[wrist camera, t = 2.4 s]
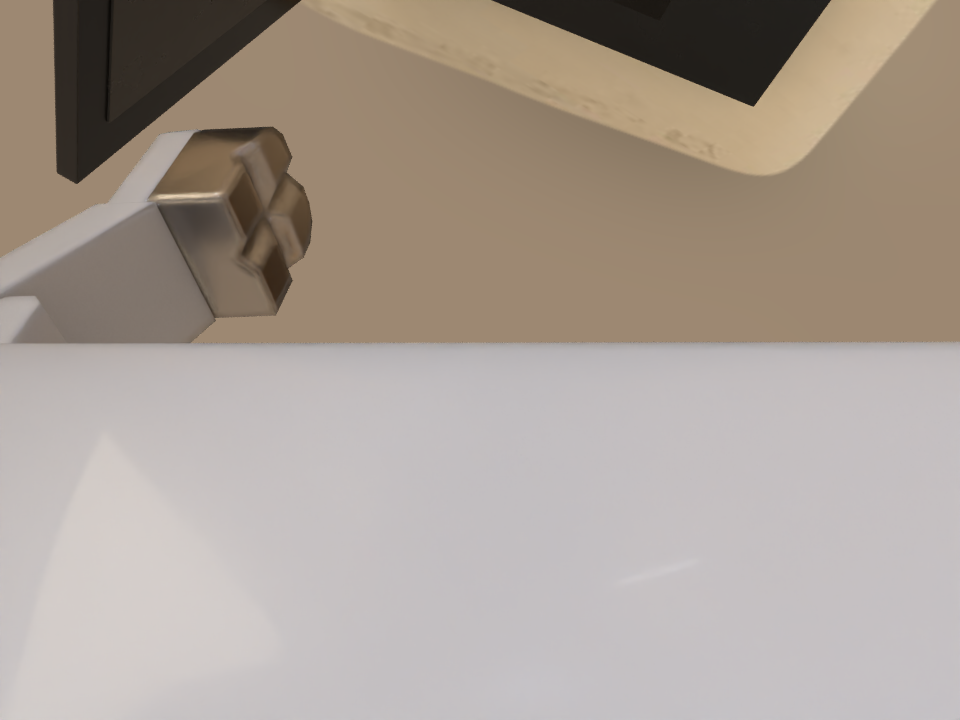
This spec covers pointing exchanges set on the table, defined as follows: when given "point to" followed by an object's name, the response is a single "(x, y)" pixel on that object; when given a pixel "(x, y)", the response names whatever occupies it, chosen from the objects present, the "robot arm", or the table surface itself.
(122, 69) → the laptop screen
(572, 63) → the table surface
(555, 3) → the laptop
